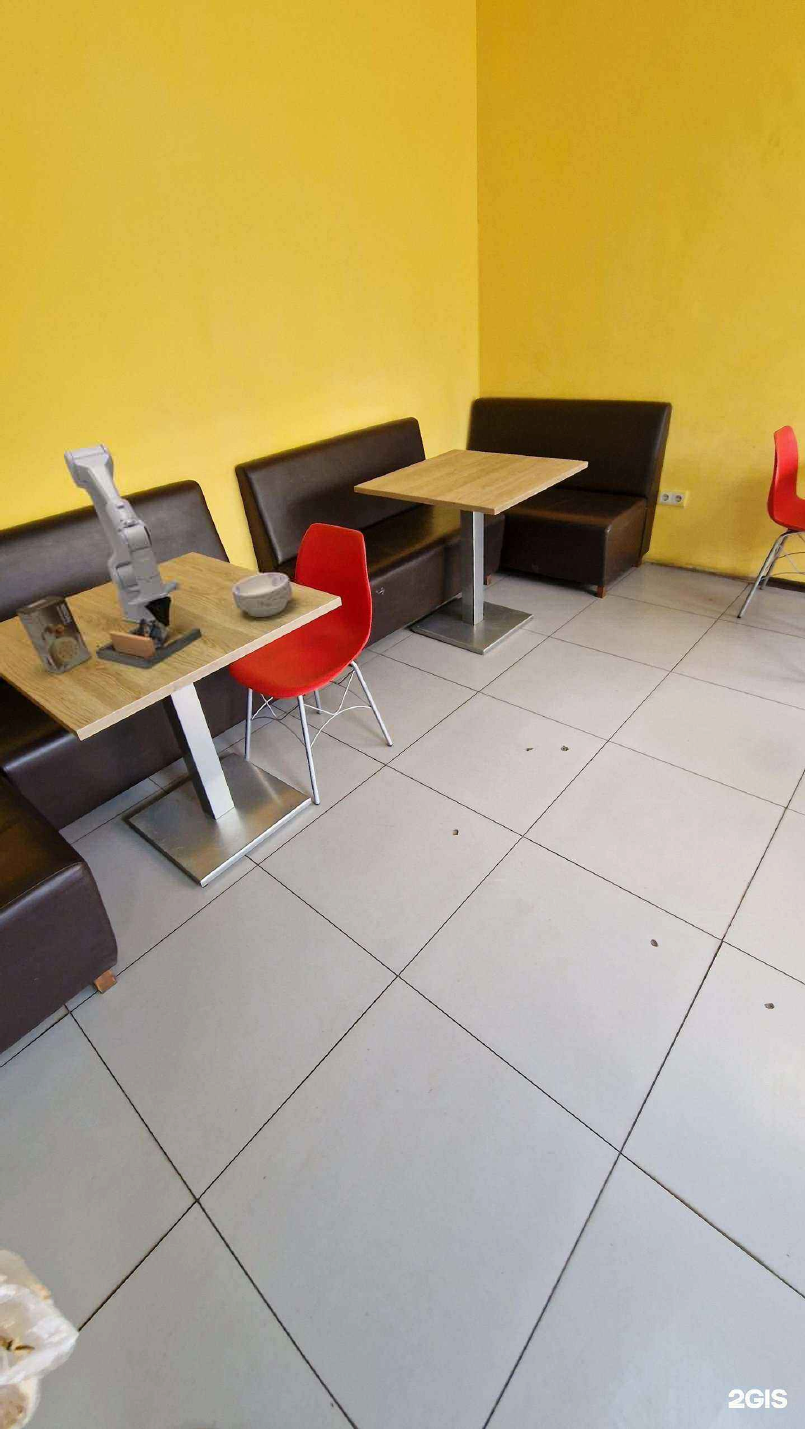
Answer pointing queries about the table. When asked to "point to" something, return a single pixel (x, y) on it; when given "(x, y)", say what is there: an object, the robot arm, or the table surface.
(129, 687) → the table surface
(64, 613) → the coffee box
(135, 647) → the plate
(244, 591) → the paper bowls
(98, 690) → the table surface
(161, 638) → the snack package
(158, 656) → the rail track
